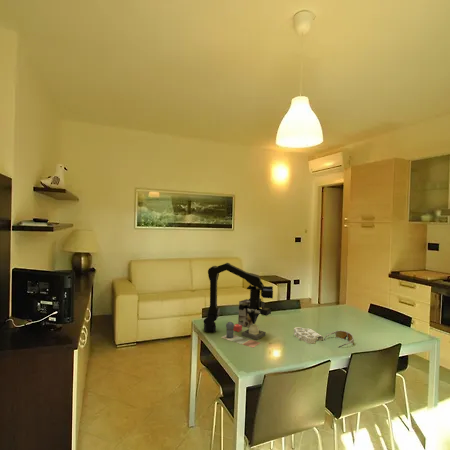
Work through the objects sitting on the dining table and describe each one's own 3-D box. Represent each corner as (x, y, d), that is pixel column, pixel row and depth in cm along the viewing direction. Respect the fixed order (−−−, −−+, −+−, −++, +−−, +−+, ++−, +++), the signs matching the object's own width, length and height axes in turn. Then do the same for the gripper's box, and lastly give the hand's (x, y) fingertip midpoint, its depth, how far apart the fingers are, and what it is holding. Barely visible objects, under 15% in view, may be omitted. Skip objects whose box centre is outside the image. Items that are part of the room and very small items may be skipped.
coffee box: (246, 328, 193) (247, 303, 193) (237, 326, 197) (238, 301, 196) (253, 325, 200) (254, 300, 200) (245, 322, 204) (246, 298, 204)
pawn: (224, 337, 175) (224, 322, 175) (228, 334, 179) (229, 320, 178) (230, 339, 172) (231, 323, 172) (235, 336, 176) (235, 321, 176)
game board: (219, 339, 174) (219, 337, 173) (229, 334, 182) (229, 332, 182) (252, 350, 161) (252, 348, 161) (262, 344, 169) (262, 342, 169)
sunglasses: (358, 344, 174) (358, 335, 174) (340, 353, 167) (339, 344, 166) (338, 335, 186) (337, 327, 186) (320, 343, 179) (320, 335, 179)
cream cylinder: (246, 335, 178) (246, 325, 178) (251, 332, 183) (252, 322, 183) (255, 337, 175) (255, 327, 175) (260, 334, 180) (261, 324, 179)
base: (241, 337, 178) (241, 332, 178) (250, 332, 186) (250, 328, 186) (256, 342, 172) (256, 336, 172) (265, 337, 180) (265, 331, 180)
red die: (232, 332, 186) (232, 325, 186) (236, 330, 189) (236, 323, 189) (238, 333, 184) (238, 326, 184) (241, 331, 187) (242, 325, 187)
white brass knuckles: (326, 343, 175) (303, 345, 171) (309, 331, 192) (288, 333, 188) (326, 337, 175) (303, 338, 171) (309, 326, 192) (288, 327, 188)
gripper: (275, 297, 180) (274, 323, 180) (248, 292, 191) (247, 317, 191) (266, 300, 171) (265, 329, 171) (238, 295, 182) (237, 321, 182)
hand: (253, 323), depth 179 cm, fingers closed
